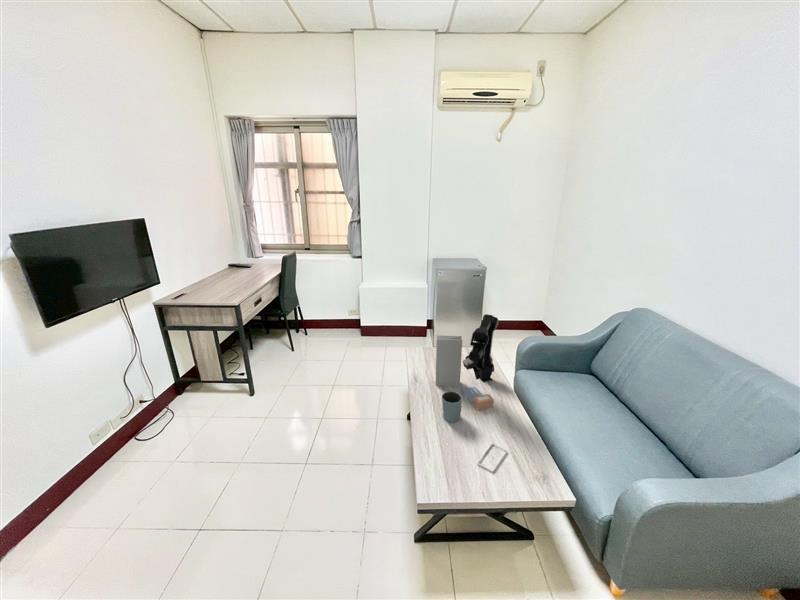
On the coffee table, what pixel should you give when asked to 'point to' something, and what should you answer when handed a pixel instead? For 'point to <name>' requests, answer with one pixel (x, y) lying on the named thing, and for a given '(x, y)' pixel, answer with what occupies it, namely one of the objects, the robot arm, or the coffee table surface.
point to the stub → (483, 402)
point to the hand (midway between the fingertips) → (477, 379)
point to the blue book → (471, 393)
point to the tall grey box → (448, 360)
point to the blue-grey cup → (451, 406)
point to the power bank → (498, 462)
